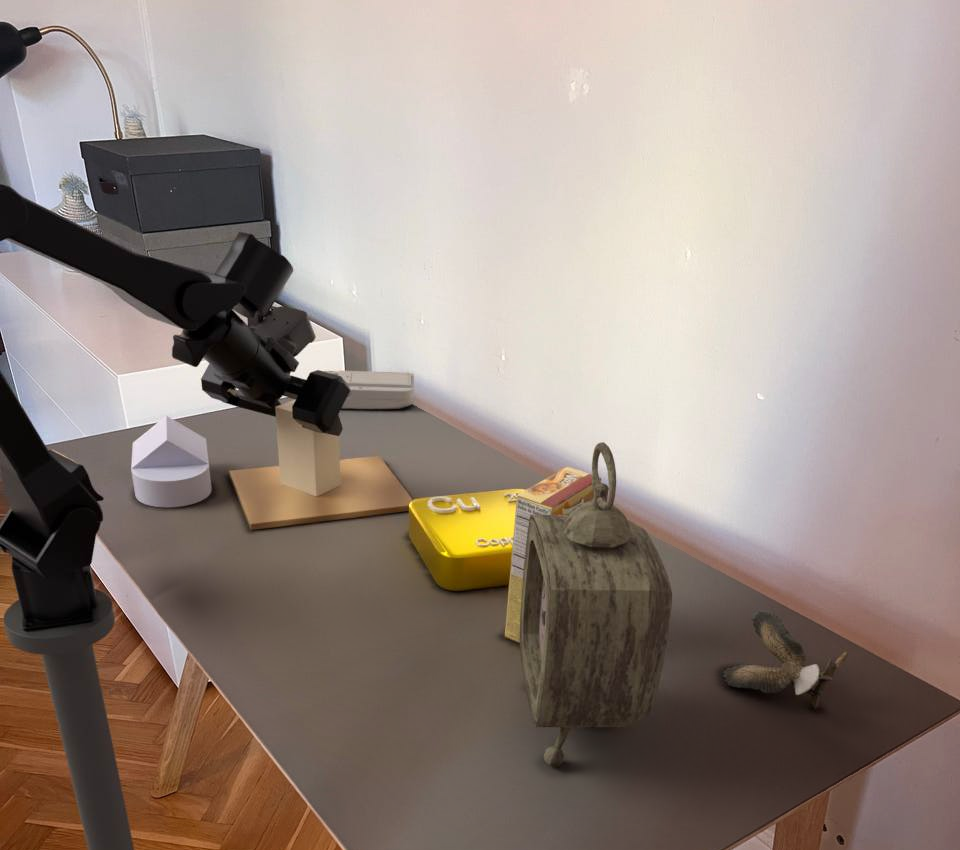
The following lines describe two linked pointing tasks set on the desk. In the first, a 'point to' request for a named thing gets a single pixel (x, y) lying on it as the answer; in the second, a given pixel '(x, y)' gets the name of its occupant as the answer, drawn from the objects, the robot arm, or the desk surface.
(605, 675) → the tabletop clock
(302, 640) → the desk surface
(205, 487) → the wedge on round base
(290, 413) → the toaster
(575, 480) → the candy box
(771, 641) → the eagle figurine
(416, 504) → the element tile
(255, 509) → the cork mat
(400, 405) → the handheld gaming device
